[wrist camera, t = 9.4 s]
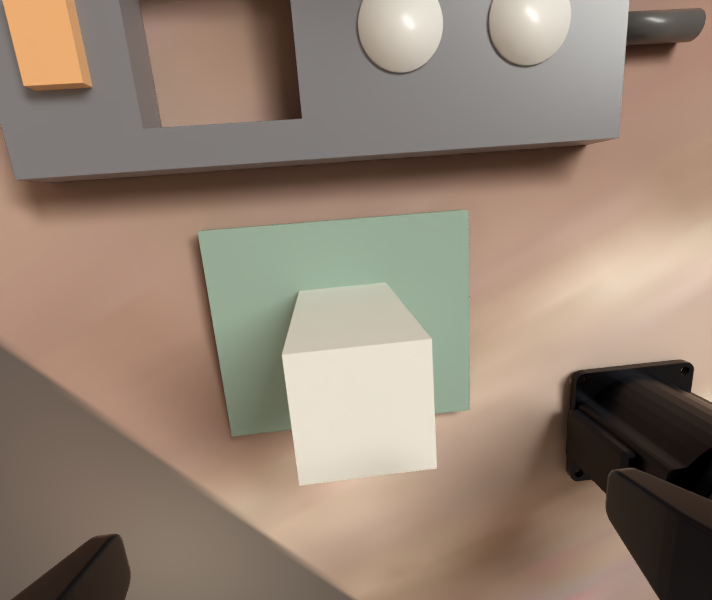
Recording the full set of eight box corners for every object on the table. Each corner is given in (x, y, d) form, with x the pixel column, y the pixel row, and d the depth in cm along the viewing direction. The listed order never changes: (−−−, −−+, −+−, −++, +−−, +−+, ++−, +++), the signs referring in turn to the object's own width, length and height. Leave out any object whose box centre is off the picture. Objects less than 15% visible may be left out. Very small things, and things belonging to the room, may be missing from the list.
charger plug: (385, 282, 18) (431, 338, 11) (390, 363, 19) (436, 468, 12) (299, 290, 18) (281, 354, 10) (308, 371, 19) (299, 485, 11)
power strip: (693, -90, 17) (759, -143, 14) (668, 139, 19) (722, 128, 16) (-12, -68, 15) (-80, -123, 12) (50, 182, 17) (3, 178, 14)
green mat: (462, 209, 19) (468, 209, 18) (464, 402, 21) (469, 409, 20) (202, 230, 18) (197, 231, 17) (235, 427, 20) (231, 436, 20)
